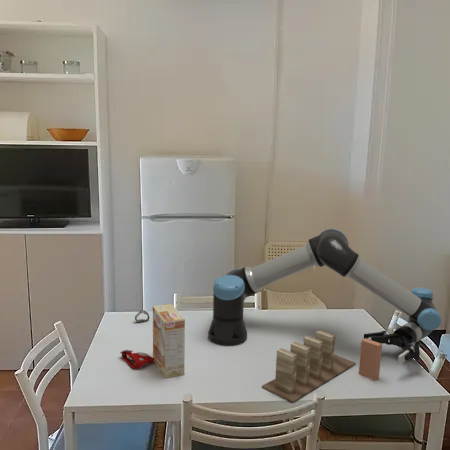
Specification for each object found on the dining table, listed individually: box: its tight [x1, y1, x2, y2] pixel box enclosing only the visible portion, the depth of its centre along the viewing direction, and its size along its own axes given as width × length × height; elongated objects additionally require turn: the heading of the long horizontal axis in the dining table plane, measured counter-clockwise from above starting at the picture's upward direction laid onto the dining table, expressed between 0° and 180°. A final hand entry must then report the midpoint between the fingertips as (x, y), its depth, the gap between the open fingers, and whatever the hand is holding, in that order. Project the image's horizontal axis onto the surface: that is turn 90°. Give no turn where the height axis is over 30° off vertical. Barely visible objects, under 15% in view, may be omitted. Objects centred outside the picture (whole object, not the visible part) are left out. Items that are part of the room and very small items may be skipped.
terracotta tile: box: [358, 338, 383, 381], centre depth 155 cm, size 2×6×12 cm, turn 45°
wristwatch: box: [134, 309, 150, 324], centre depth 196 cm, size 4×6×5 cm, turn 122°
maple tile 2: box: [303, 335, 324, 378], centre depth 154 cm, size 2×6×12 cm, turn 45°
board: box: [261, 354, 357, 404], centre depth 155 cm, size 36×12×1 cm, turn 135°
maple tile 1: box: [315, 329, 336, 371], centre depth 159 cm, size 2×6×12 cm, turn 45°
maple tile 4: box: [274, 347, 297, 394], centre depth 144 cm, size 2×6×12 cm, turn 45°
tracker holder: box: [119, 349, 155, 370], centre depth 160 cm, size 12×4×10 cm
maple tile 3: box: [289, 341, 311, 386], centre depth 149 cm, size 2×6×12 cm, turn 45°
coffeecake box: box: [152, 303, 186, 379], centre depth 157 cm, size 15×7×20 cm, turn 23°
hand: (379, 353), depth 157 cm, fingers open, 13 cm apart
